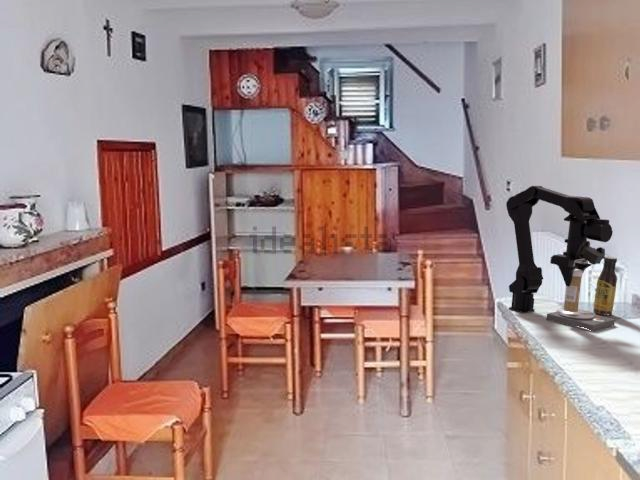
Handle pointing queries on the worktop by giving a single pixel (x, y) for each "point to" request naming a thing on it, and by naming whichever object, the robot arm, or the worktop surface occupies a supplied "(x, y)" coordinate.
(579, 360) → the worktop surface
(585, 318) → the scale pan
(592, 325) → the scale
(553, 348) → the worktop surface
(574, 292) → the sprinkles bottle
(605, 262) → the sauce bottle
